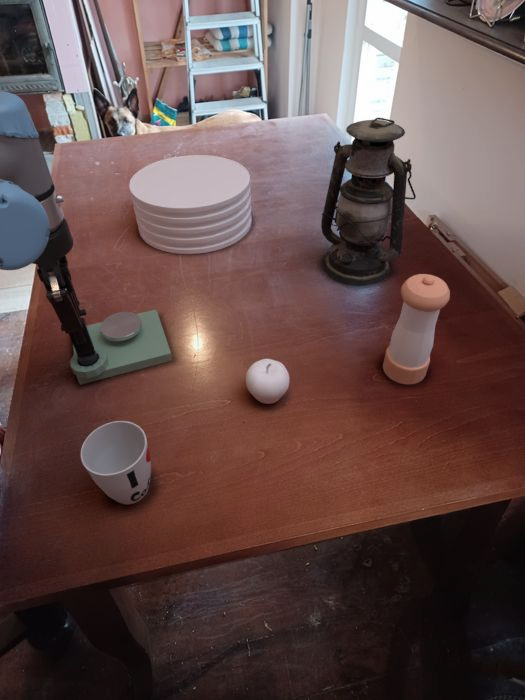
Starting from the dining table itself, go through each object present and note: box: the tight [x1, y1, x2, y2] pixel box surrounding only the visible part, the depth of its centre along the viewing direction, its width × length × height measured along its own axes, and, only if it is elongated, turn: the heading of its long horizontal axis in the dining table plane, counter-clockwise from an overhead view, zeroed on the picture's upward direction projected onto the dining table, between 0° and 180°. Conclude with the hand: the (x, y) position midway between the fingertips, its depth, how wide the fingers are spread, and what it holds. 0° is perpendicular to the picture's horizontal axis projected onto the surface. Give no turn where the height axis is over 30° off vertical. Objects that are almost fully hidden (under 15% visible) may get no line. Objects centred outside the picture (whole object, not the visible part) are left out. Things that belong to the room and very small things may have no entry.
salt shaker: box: [382, 273, 451, 385], centre depth 76 cm, size 7×7×19 cm
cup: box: [80, 420, 152, 505], centre depth 63 cm, size 8×8×10 cm
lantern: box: [320, 117, 417, 287], centre depth 96 cm, size 19×19×30 cm
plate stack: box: [128, 154, 253, 255], centre depth 115 cm, size 28×28×12 cm
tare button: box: [77, 351, 98, 367], centre depth 80 cm, size 3×3×2 cm
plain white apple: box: [245, 358, 291, 405], centre depth 76 cm, size 7×7×8 cm
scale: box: [69, 309, 173, 386], centre depth 85 cm, size 16×14×4 cm
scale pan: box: [82, 311, 142, 341], centre depth 86 cm, size 12×9×1 cm
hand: (86, 351), depth 79 cm, fingers closed
